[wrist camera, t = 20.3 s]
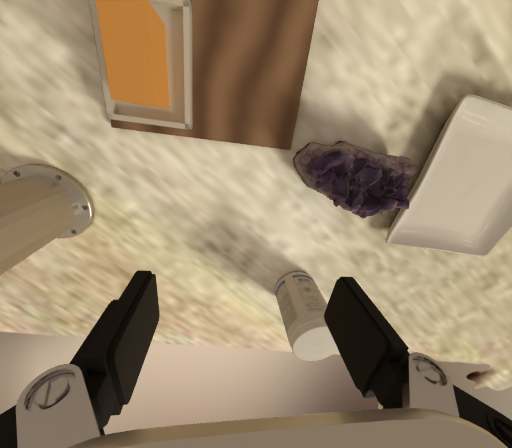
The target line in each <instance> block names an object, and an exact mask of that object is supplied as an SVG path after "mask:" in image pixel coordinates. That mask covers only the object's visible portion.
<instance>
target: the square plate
mask: <svg viewBox="0 0 512 448" xmlns="http://www.w3.org/2000/svg"><path fill="white" fill-rule="evenodd" d="M407 199H408V200H409V203H410V205H409V209H406V210H403V209H400V211H399V212H398V214H397V216H396V218H395V219H394V221H393V223H392V225H391V227H390V229H389V232H388V234H387V237H386V242H387V243H388V244H392V245H399V246H407V247H416V248H424V249H432V250H439V251H446V252H452V253H459V254H465V255H472V256H480V257H484V256H487V255H488V254H489V253H490V252H491V250H492V249H493V248H494V247H495V246H496V245H497V243H498V242H499V241H500V240H501V239H502V238H503V237H504V235H505V234H506V233H507V232H508V231H509V230H510V228H511V227H512V107H509V106H507V105H504V104H501V103H498V102H495V101H492V100H489V99H486V98H483V97H480V96H477V95H473V94H464V95H463V96H462V98H461V99H460V101H459V102H458V104H457V105H456V107H455V108H454V110H453V111H452V113H451V115H450V116H449V118H448V120H447V121H446V123H445V125H444V127H443V129H442V131H441V133H440V135H439V137H438V139H437V141H436V143H435V145H434V147H433V149H432V151H431V153H430V155H429V157H428V159H427V161H426V163H425V165H424V167H423V169H422V171H421V173H420V175H419V177H418V179H417V180H416V182H415V184H414V186H413V188H412V190H411V191H410V193H409V195H408V197H407Z"/></svg>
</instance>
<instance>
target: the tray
mask: <svg viewBox="0 0 512 448" xmlns="http://www.w3.org/2000/svg"><path fill="white" fill-rule="evenodd" d="M148 1H149V3H150V4H151V5H152V7H153V8H154V10H155V11H156V13H157V14H158V16H159V17H160V19H161V20H162V22H163V23H164V25H165V33H166V52H167V72H168V91H169V108H162V107H155V106H147V105H140V104H134V103H128V102H123V101H118V100H112V99H111V96H110V89H109V83H108V76H107V70H106V63H105V57H104V51H103V44H102V38H101V31H100V25H99V18H98V12H97V5H96V0H89V3H90V10H91V16H92V22H93V28H94V35H95V41H96V47H97V54H98V60H99V66H100V72H101V79H102V85H103V91H104V97H105V104H106V110H107V116H108V119H112V120H120V121H128V122H135V123H143V124H150V125H158V126H165V127H173V128H180V129H188V130H192V6H191V3H190V0H148Z"/></svg>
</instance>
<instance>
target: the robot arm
mask: <svg viewBox="0 0 512 448" xmlns="http://www.w3.org/2000/svg"><path fill="white" fill-rule="evenodd" d="M93 218H94V207H93V203H92V200H91V198H90V196H89V195H88V193H87V191H86V190H85V189H84V188H83V187H82V185H81V184H80V183H79V182H77V181H76V180H75V179H74V178H72V177H71V176H69V175H68V174H66V173H65V172H62V171H60V170H58V169H56V168H53V167H50V166H45V165H39V164H30V165H24V166H20V167H16V168H14V169H12V170H10V171H9V172H7V173H6V175H5V176H4V177H3V179H2V181H1V184H0V275H2V274H3V273H5V272H6V271H8V270H9V269H11V268H12V267H14V266H15V265H17V264H18V263H20V262H21V261H23V260H24V259H26V258H27V257H29V256H30V255H32V254H33V253H35V252H36V251H37V250H39V249H40V248H42V247H43V246H45V245H46V244H48V243H49V242H51V241H52V240H54V239H55V238H69V237H74V236H76V235H79V234H80V233H82V232H83V231H85V230H86V229H87V228H88V227H89V226H90V224H91V223H92V220H93ZM324 320H325V323H326V325H327V327H328V329H329V331H330V333H331V335H332V337H333V339H334V342H335V344H336V346H337V348H338V350H339V352H340V354H341V356H342V358H343V360H344V363H345V365H346V367H347V369H348V371H349V373H350V375H351V377H352V379H353V382H354V384H355V386H356V387H357V388H358V389H359V390H360V391H361V393H362V395H363V397H364V398H368V397H369V398H370V397H375V396H376V398H377V400H378V401H379V406H378V409H376V410H362V411H349V412H348V411H347V412H334V413H320V414H308V415H295V416H282V417H269V418H257V419H246V420H245V419H244V420H233V421H222V422H209V423H197V424H186V425H176V426H166V427H156V428H147V429H138V430H131V431H125V432H119V433H112V434H108V435H105V433H104V429H103V427H105V425H107V423H108V421H109V418H110V416H111V415H119V414H120V413H121V410H122V407H123V405H125V404H128V403H129V401H130V399H131V396H132V393H133V390H134V387H135V385H136V382H137V379H138V376H139V374H140V371H141V368H142V365H143V363H144V360H145V357H146V354H147V352H148V349H149V346H150V343H151V340H152V338H153V335H154V332H155V329H156V327H157V324H158V321H159V305H158V295H157V285H156V276H155V274H152V272H151V271H137V272H136V273H135V274H134V276H133V278H132V279H131V281H130V282H129V284H128V285H127V287H126V289H125V290H124V292H123V293H122V295H121V297H120V298H119V300H113V301H111V302H110V304H109V305H108V306H107V308H106V309H105V311H104V312H103V314H102V315H101V317H100V318H99V320H98V321H97V323H96V324H95V326H94V327H93V329H92V330H91V332H90V333H89V335H88V336H87V338H86V339H85V341H84V342H83V344H82V346H81V347H80V349H79V350H78V351H77V353H76V354H75V356H74V357H73V359H72V361H71V362H70V363H69V364H64V365H59V366H56V367H54V368H52V369H49V370H47V371H45V372H44V373H42V374H41V375H39V376H38V377H37V378H35V379H34V380H33V381H32V382H31V383H30V384H29V385H28V386H27V387H26V388H25V390H24V391H23V392H22V394H21V395H20V397H19V399H18V401H17V405H15V406H13V407H12V408H10V409H9V410H7V411H5V412H4V413H2V414H1V415H0V448H512V421H511V420H510V419H509V418H507V417H505V416H504V415H503V414H501V413H499V412H498V411H496V410H494V409H493V408H491V407H489V406H488V405H486V404H484V403H483V402H481V401H479V400H478V399H476V398H474V397H472V396H471V395H469V394H468V393H466V392H464V391H463V390H461V389H459V388H458V387H456V386H454V385H453V384H452V381H451V378H450V376H449V375H448V374H447V372H446V370H445V369H444V368H443V367H442V366H441V365H440V364H439V363H437V362H436V361H435V360H434V359H432V358H430V357H429V356H427V355H424V354H422V353H417V352H415V353H411V354H409V352H408V351H407V350H408V347H407V345H406V344H405V343H404V342H403V340H402V339H401V338H400V337H399V335H398V334H397V333H396V331H395V330H394V329H393V328H392V326H391V325H390V324H389V323H388V321H387V320H386V319H385V317H384V316H383V315H382V314H381V312H380V311H379V310H378V309H377V307H376V306H375V305H374V303H373V302H372V301H371V300H370V298H369V297H368V296H367V295H366V293H365V292H364V291H363V290H362V288H361V287H360V286H359V284H358V283H357V282H356V281H355V279H354V278H353V277H340V278H339V279H338V280H337V281H336V284H335V286H334V289H333V292H332V294H331V297H330V300H329V302H328V305H327V308H326V310H325V313H324Z"/></svg>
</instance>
